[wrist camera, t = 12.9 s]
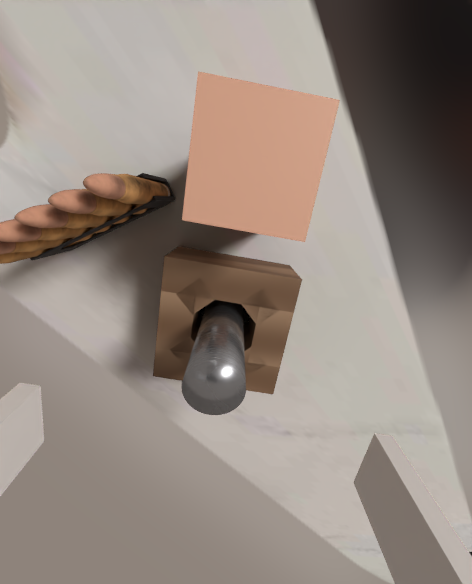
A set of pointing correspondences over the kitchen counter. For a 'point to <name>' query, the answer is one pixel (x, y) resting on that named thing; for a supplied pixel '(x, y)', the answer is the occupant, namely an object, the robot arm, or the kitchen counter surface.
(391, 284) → the kitchen counter surface
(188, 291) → the bore block
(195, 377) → the round peg
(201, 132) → the square peg
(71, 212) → the ammunition clip
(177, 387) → the kitchen counter surface
